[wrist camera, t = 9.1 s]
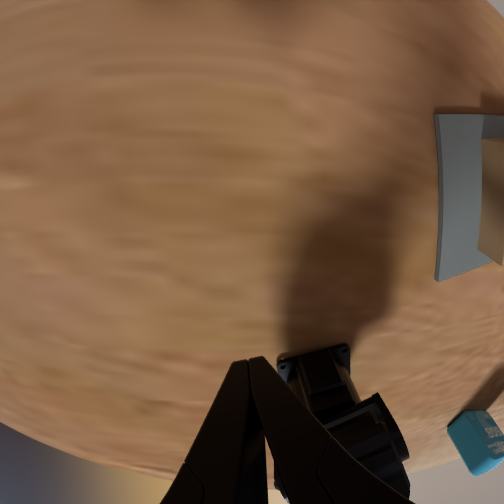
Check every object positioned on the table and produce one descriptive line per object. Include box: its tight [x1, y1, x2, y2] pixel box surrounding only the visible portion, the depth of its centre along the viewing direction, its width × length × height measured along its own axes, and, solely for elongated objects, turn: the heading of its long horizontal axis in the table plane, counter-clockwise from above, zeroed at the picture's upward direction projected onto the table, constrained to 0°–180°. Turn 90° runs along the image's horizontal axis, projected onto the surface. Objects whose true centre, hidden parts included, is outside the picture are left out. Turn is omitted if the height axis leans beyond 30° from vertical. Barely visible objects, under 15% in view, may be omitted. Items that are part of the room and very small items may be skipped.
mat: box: [434, 114, 504, 282], centre depth 20 cm, size 14×15×1 cm
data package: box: [447, 411, 504, 476], centre depth 33 cm, size 12×4×12 cm, turn 64°
